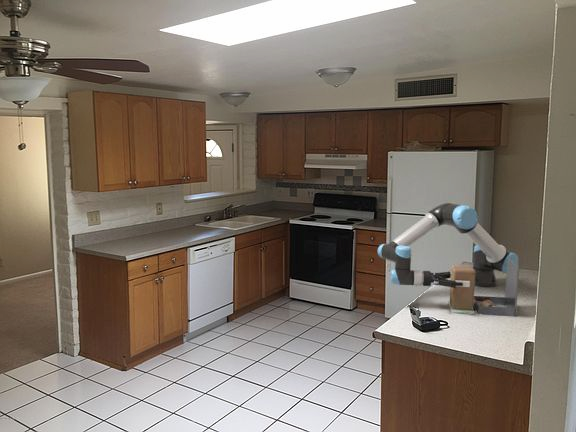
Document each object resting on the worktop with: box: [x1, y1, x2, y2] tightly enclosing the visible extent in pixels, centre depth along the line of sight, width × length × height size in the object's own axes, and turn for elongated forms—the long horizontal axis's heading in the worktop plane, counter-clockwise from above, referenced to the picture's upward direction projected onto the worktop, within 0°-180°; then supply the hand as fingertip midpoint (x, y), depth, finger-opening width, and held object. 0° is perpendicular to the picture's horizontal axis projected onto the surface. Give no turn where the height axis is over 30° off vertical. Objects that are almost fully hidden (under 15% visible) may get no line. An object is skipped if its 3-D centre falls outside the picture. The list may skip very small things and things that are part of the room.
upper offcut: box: [481, 300, 494, 307], centre depth 246 cm, size 11×3×2 cm, turn 145°
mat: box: [447, 300, 476, 315], centre depth 249 cm, size 16×10×1 cm, turn 171°
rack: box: [473, 259, 520, 317], centre depth 245 cm, size 17×17×24 cm
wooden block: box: [448, 264, 476, 310], centre depth 247 cm, size 10×10×20 cm
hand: (466, 280), depth 246 cm, fingers open, 13 cm apart
